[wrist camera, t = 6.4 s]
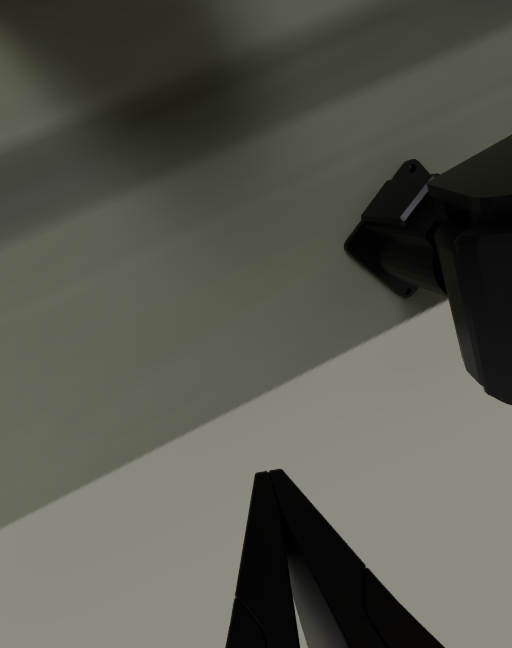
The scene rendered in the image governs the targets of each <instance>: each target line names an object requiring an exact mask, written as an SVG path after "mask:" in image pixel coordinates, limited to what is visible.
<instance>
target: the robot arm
mask: <svg viewBox="0 0 512 648" xmlns="http://www.w3.org/2000/svg"><path fill="white" fill-rule="evenodd" d="M410 165H411V166H412V171H411V172H409V166H410ZM353 242H354V243H355V246H354V248H353V249H351V248H350V246H351V244H352V243H353ZM344 250H345V251H346V252H347V253H348V254H349V255H350V256H352V257H353V258H354V259H355V260H357V261H358V262H359V263H360V264H362V265H363V266H364V267H365V268H366V269H368V270H369V271H370V272H371V273H373V274H374V275H375V276H376V277H377V278H379V279H380V280H381V281H382V282H384V283H385V284H386V285H387V286H388V287H390V288H391V289H392V290H393V291H395V292H396V293H397V294H398V295H399V296H402V297H404V298H409V297H411V296H412V295H413V293H414V292H415V291H416V290H417V289H418V287H422V288H425V289H427V290H430V291H433V292H436V293H438V294H441V295H444V296H447V297H448V299H449V303H450V307H451V311H452V315H453V320H454V324H455V328H456V333H457V337H458V341H459V346H460V350H461V354H462V358H463V361H464V364H465V367H466V370H467V371H468V372H469V373H470V374H471V376H472V377H473V378H475V380H476V381H477V382H478V383H479V384H480V385H482V386H483V387H484V390H485V392H486V393H487V394H488V395H491V396H492V397H495V398H496V399H498V400H500V401H502V402H504V403H506V404H509V405H512V135H510V136H508V137H507V138H505V139H503V140H501V141H499V142H498V143H496V144H494V145H492V146H491V147H489V148H487V149H485V150H483V151H482V152H480V153H478V154H476V155H475V156H473V157H471V158H469V159H467V160H466V161H464V162H462V163H460V164H459V165H457V166H455V167H453V168H451V169H450V170H448V171H446V172H444V173H443V174H441V175H440V174H438V173H437V174H430V173H429V172H428V171H427V170H426V169H425V168H424V167H423V166H422V165H421V164H420V162H419V161H417V160H416V159H411V160H408V161H405V162H404V163H403V165H402V166H401V167H400V169H399V170H398V171H397V173H396V174H395V175H394V177H393V178H392V179H391V180H389V181H386V183H385V184H384V185H383V187H382V188H381V189H380V191H379V192H378V193H377V195H376V196H375V198H374V199H373V200H372V202H371V203H370V204H369V206H368V207H367V208H366V210H365V211H364V212H363V214H362V215H361V221H360V223H359V224H358V225H357V227H356V228H355V229H354V231H353V232H352V233H351V235H350V236H349V237H348V239H347V240H346V242H345V244H344ZM405 289H407V292H406V293H404V292H405ZM293 599H294V602H295V605H296V609H297V612H298V615H299V618H300V622H301V625H302V629H303V632H304V635H305V639H306V642H307V646H308V648H445V647H444V646H443V645H442V644H441V643H440V642H439V641H438V640H437V639H436V638H434V636H433V635H431V634H430V633H429V632H428V631H427V630H426V629H425V628H424V627H423V626H422V625H421V624H420V623H419V622H418V621H417V620H416V619H415V618H414V617H413V616H412V615H411V614H410V613H409V612H408V611H407V610H406V609H405V608H404V607H403V606H402V605H401V604H400V603H399V602H398V601H397V600H396V599H395V597H394V596H393V595H392V594H391V593H390V592H389V591H388V590H387V589H386V588H385V587H384V585H382V583H381V582H380V581H379V580H378V579H377V578H376V576H375V575H374V574H373V573H372V572H371V571H370V569H368V568H366V565H365V564H364V563H363V562H362V561H361V559H360V558H359V557H358V556H357V555H356V554H355V553H354V551H353V550H352V549H351V548H350V547H349V546H348V544H347V543H346V542H345V541H344V540H343V539H342V538H341V536H340V535H339V534H338V533H337V532H336V531H335V530H334V528H333V527H332V526H331V525H330V524H329V523H328V522H327V520H326V519H325V518H324V517H323V516H322V515H321V513H320V512H319V511H318V510H317V509H316V508H315V507H314V506H313V504H312V503H311V502H310V501H309V500H308V499H307V497H306V496H305V495H304V494H303V493H302V492H301V491H300V489H299V488H298V487H297V486H296V485H295V484H294V482H293V481H292V480H291V479H290V478H289V477H288V476H287V474H285V472H284V471H283V470H282V469H276V470H270V471H269V473H268V472H267V471H264V472H258V473H256V474H255V477H254V484H253V490H252V496H251V502H250V508H249V514H248V520H247V526H246V532H245V538H244V544H243V550H242V556H241V562H240V569H239V574H238V581H237V586H236V592H235V599H234V603H233V609H232V616H231V622H230V626H229V631H228V637H227V643H226V647H225V648H300V644H299V637H298V630H297V623H296V616H295V609H294V602H293Z"/></svg>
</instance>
